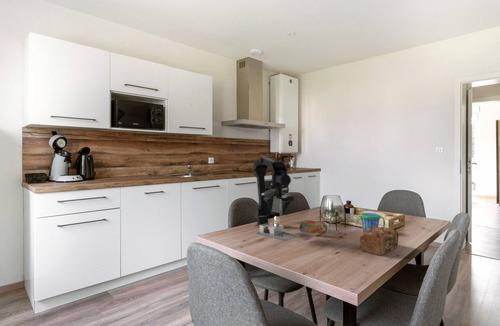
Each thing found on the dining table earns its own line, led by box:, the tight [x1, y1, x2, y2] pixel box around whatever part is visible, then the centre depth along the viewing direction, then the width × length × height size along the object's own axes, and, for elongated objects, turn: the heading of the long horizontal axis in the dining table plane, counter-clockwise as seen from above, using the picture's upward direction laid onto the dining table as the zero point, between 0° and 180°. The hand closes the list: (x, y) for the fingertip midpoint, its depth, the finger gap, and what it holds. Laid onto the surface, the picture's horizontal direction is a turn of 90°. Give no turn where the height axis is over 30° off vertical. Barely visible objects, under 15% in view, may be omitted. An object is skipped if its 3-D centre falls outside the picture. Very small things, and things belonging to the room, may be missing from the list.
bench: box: [256, 222, 302, 242], centre depth 153 cm, size 20×14×6 cm
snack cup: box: [355, 212, 386, 233], centre depth 164 cm, size 16×10×10 cm
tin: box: [299, 219, 328, 238], centre depth 157 cm, size 15×3×8 cm, turn 62°
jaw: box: [270, 216, 285, 235], centre depth 154 cm, size 3×8×9 cm, turn 134°
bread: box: [359, 226, 399, 256], centre depth 134 cm, size 19×11×10 cm, turn 131°
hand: (277, 212), depth 155 cm, fingers open, 9 cm apart
